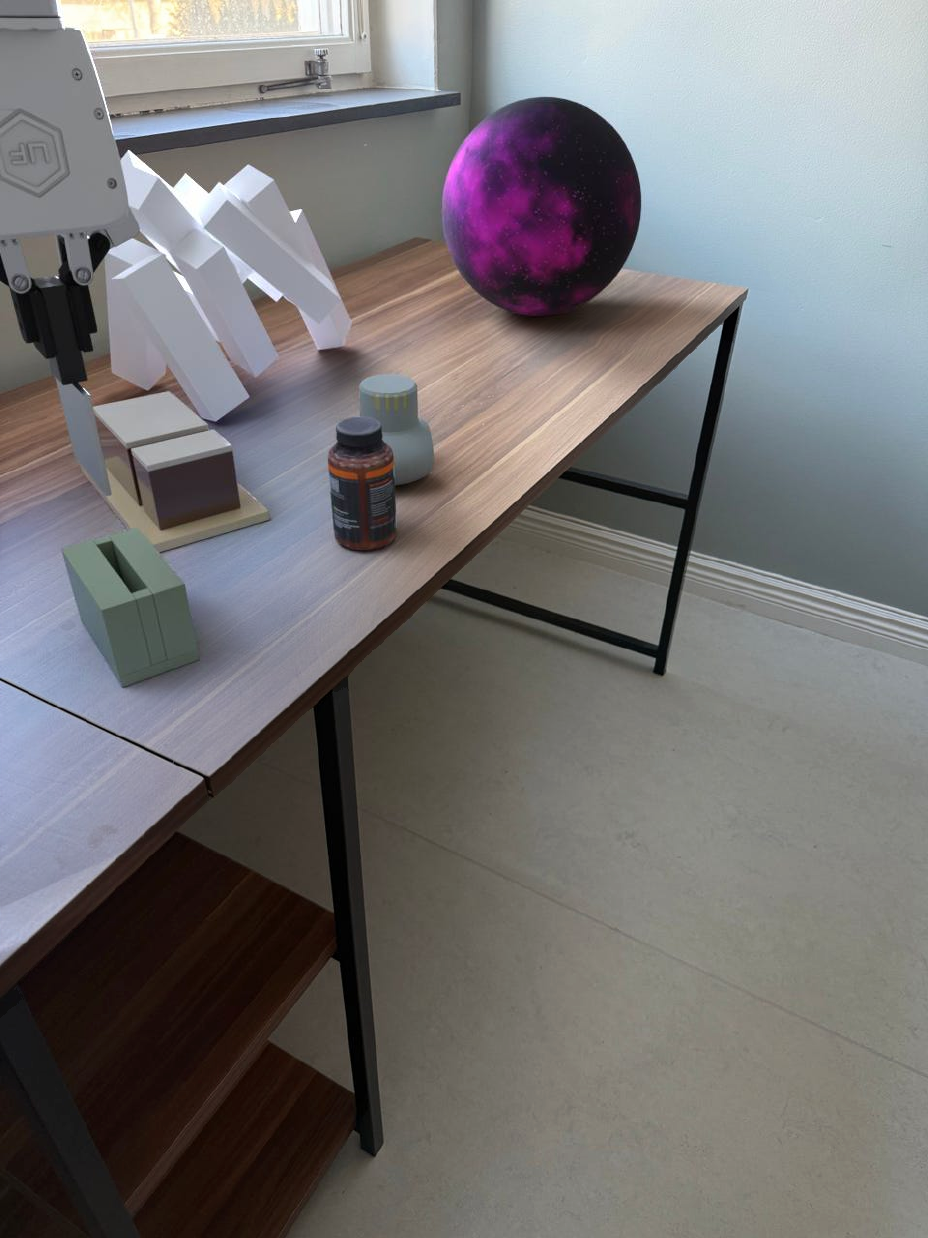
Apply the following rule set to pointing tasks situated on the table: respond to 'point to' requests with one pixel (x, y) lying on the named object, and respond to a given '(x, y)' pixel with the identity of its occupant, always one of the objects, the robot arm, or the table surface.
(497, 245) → the purple galaxy ball
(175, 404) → the cake
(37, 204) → the robot arm
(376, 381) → the air freshener
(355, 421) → the supplement bottle
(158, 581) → the knife block
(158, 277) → the pile of blocks
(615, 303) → the table surface
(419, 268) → the table surface
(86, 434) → the knife
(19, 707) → the table surface
